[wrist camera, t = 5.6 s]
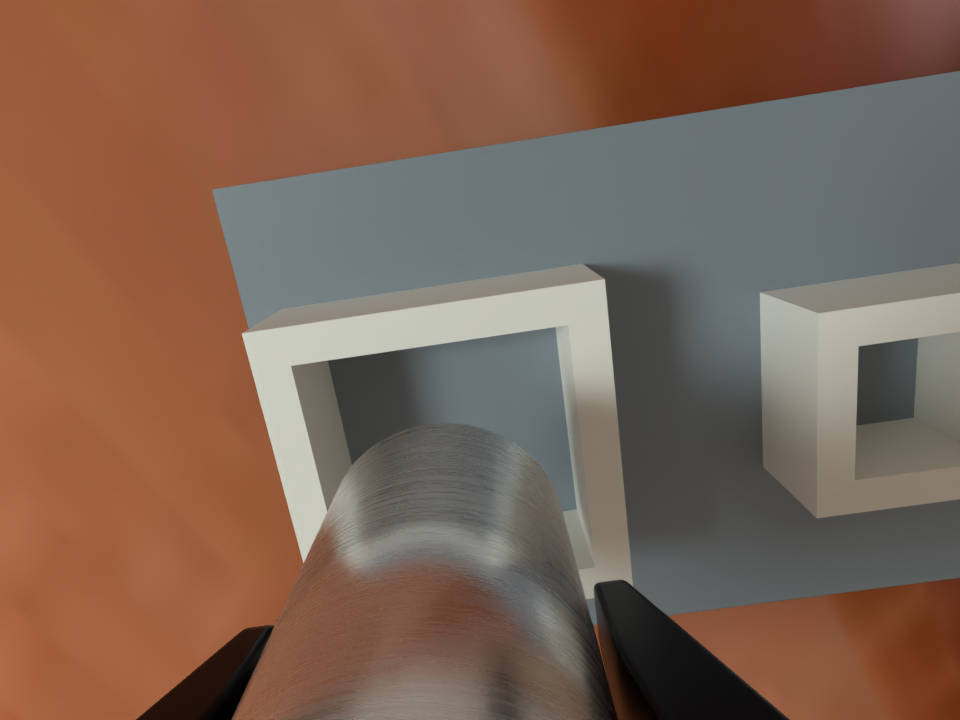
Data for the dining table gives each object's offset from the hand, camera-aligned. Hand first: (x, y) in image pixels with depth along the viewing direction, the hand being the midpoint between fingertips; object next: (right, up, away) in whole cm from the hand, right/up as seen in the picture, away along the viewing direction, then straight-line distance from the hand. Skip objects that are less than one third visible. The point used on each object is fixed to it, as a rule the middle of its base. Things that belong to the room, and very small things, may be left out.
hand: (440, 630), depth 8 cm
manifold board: (+5, +3, +8) cm, 10 cm away
